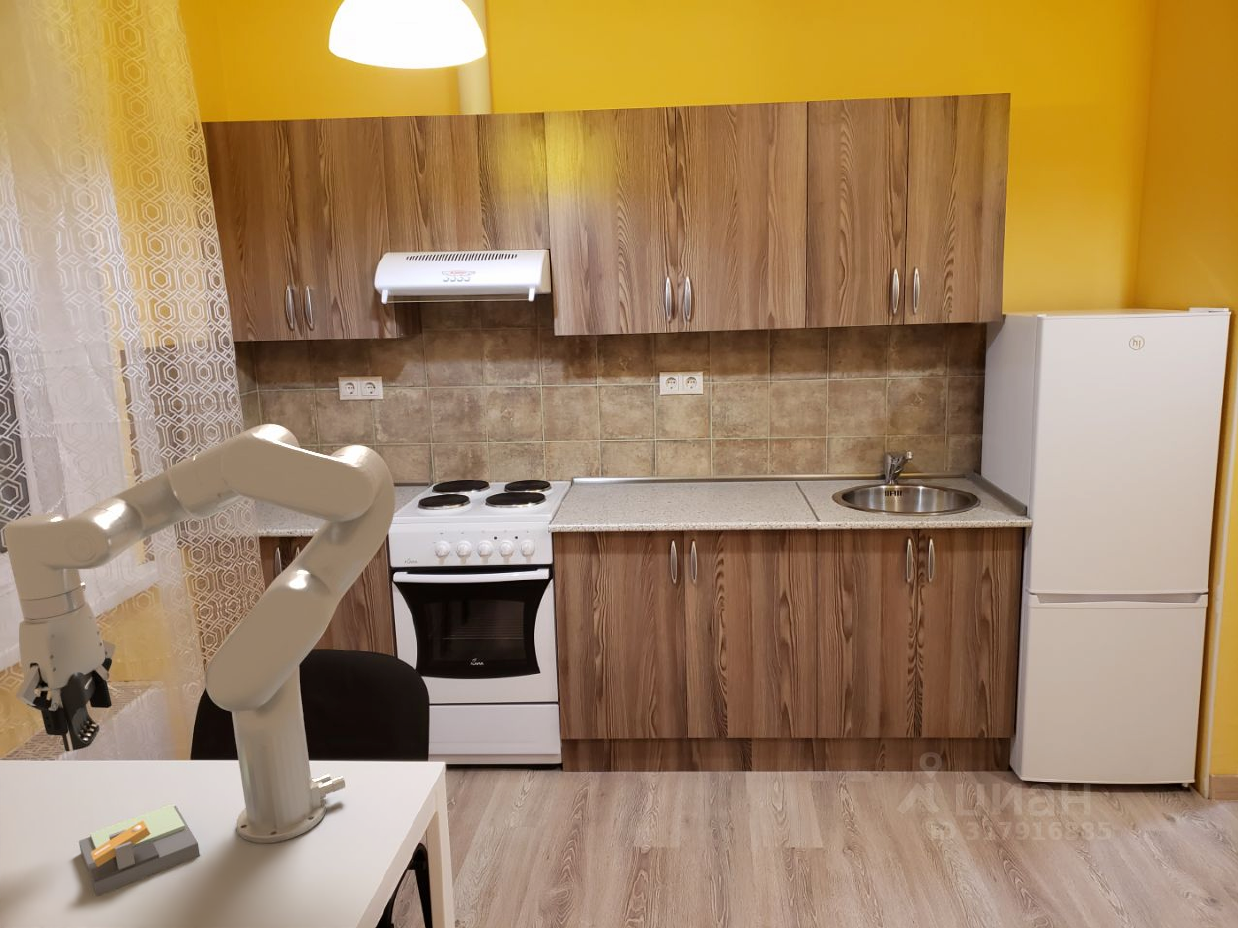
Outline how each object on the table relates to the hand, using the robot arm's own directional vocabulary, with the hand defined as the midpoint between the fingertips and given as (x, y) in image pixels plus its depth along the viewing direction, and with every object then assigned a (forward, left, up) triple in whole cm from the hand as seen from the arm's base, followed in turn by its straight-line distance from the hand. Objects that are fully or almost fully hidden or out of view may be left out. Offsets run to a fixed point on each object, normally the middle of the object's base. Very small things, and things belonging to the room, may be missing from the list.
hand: (80, 719), depth 133 cm
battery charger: (0, 0, -4) cm, 4 cm away
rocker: (-1, +12, -14) cm, 19 cm away
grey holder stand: (-3, +8, -19) cm, 21 cm away
